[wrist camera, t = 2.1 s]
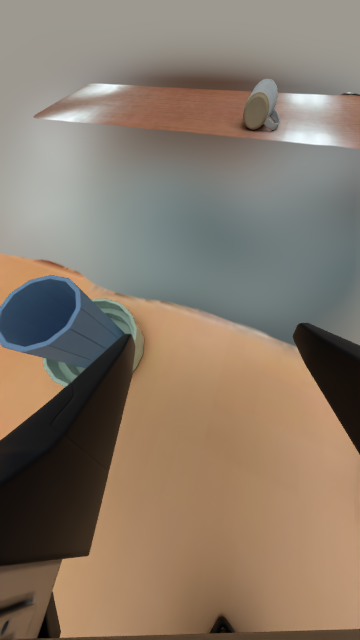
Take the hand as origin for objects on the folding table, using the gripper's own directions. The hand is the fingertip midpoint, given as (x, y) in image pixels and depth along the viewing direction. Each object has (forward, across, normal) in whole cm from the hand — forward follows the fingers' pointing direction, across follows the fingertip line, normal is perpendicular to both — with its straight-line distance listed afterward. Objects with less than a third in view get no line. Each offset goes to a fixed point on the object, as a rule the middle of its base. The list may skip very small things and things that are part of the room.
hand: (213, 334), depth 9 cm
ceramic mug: (+69, -25, -22) cm, 77 cm away
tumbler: (+10, +13, +10) cm, 19 cm away
